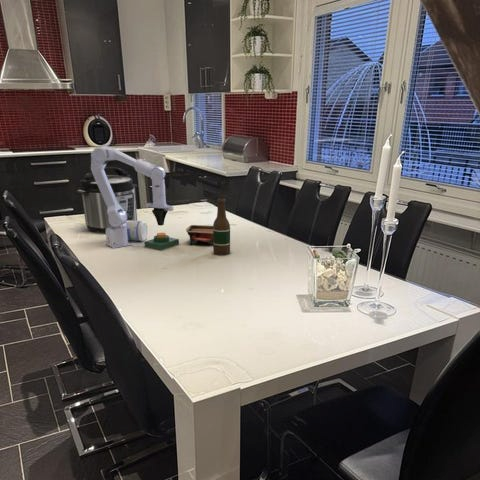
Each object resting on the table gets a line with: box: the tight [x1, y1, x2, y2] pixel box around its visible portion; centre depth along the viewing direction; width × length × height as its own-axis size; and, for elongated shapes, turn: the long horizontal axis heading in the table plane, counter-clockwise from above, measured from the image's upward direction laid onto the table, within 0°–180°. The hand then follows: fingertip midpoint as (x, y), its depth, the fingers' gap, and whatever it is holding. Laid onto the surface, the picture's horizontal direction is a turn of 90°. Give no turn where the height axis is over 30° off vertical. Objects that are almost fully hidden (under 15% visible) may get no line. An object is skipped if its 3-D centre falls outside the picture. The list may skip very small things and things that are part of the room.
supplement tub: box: [125, 220, 149, 242], centre depth 227 cm, size 10×10×15 cm
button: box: [156, 232, 167, 238], centre depth 218 cm, size 4×4×2 cm
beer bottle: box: [212, 197, 231, 256], centre depth 205 cm, size 8×8×24 cm
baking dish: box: [185, 224, 213, 246], centre depth 224 cm, size 14×18×10 cm
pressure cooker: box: [76, 166, 138, 234], centre depth 243 cm, size 30×28×32 cm
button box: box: [143, 234, 180, 251], centre depth 219 cm, size 13×10×4 cm
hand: (160, 225), depth 216 cm, fingers closed
